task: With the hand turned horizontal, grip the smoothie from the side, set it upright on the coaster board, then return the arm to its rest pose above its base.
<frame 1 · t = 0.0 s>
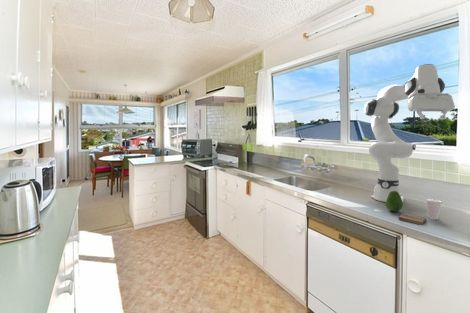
hand: (432, 119, 125), 52 cm above the countertop, tool tilted 20°, fingers open, 8 cm apart
avocado: (393, 211, 143), on the countertop
smoothie: (432, 218, 133), on the countertop
coaster board: (412, 219, 130), on the countertop
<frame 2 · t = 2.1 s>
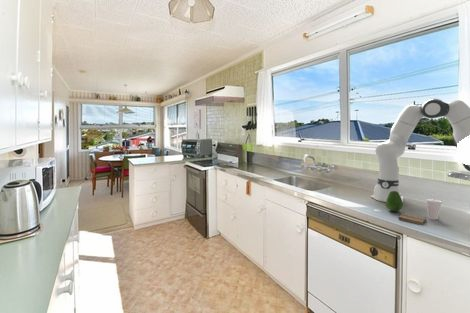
hand: (457, 176, 132), 22 cm above the countertop, tool horizontal, fingers open, 8 cm apart
nothing on the countertop moved.
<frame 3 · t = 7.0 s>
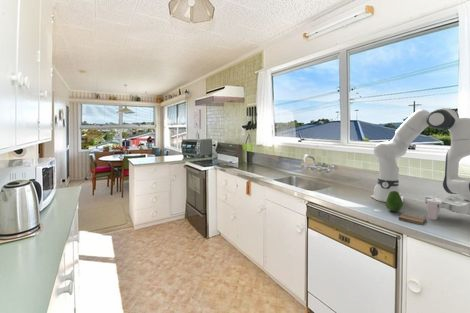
hand: (432, 204, 132), 8 cm above the countertop, tool horizontal, fingers closed on smoothie, 6 cm apart
smoothie: (432, 218, 133), on the countertop, touching gripper
everything else where it was.
when the fingers open (10 cm above the countertop, at t = 13.1 s): smoothie moves 3 cm, resting on coaster board.
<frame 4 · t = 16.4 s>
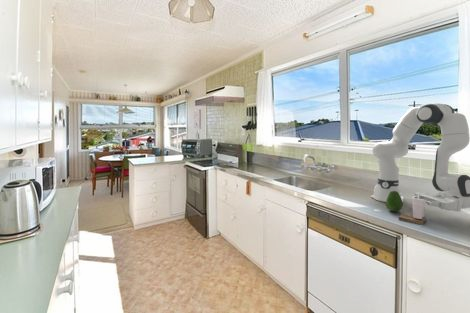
hand: (420, 200, 129), 10 cm above the countertop, tool horizontal, fingers open, 8 cm apart
smoothie: (417, 218, 127), point 2 cm above the countertop, touching coaster board
everything else where it was.
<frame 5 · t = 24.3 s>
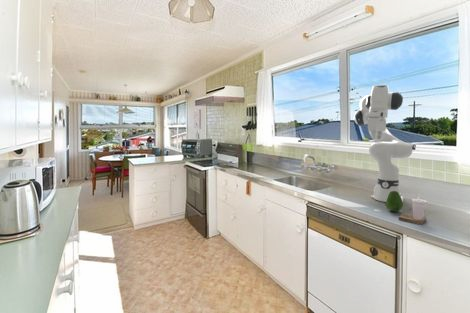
hand: (376, 139, 141), 41 cm above the countertop, tool pointing down, fingers open, 8 cm apart
at the end: smoothie inside the target area on the coaster board (2.7 cm from its centre), point 1.3 cm above the coaster board's base; smoothie tilted 0°; the gripper is holding nothing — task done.
